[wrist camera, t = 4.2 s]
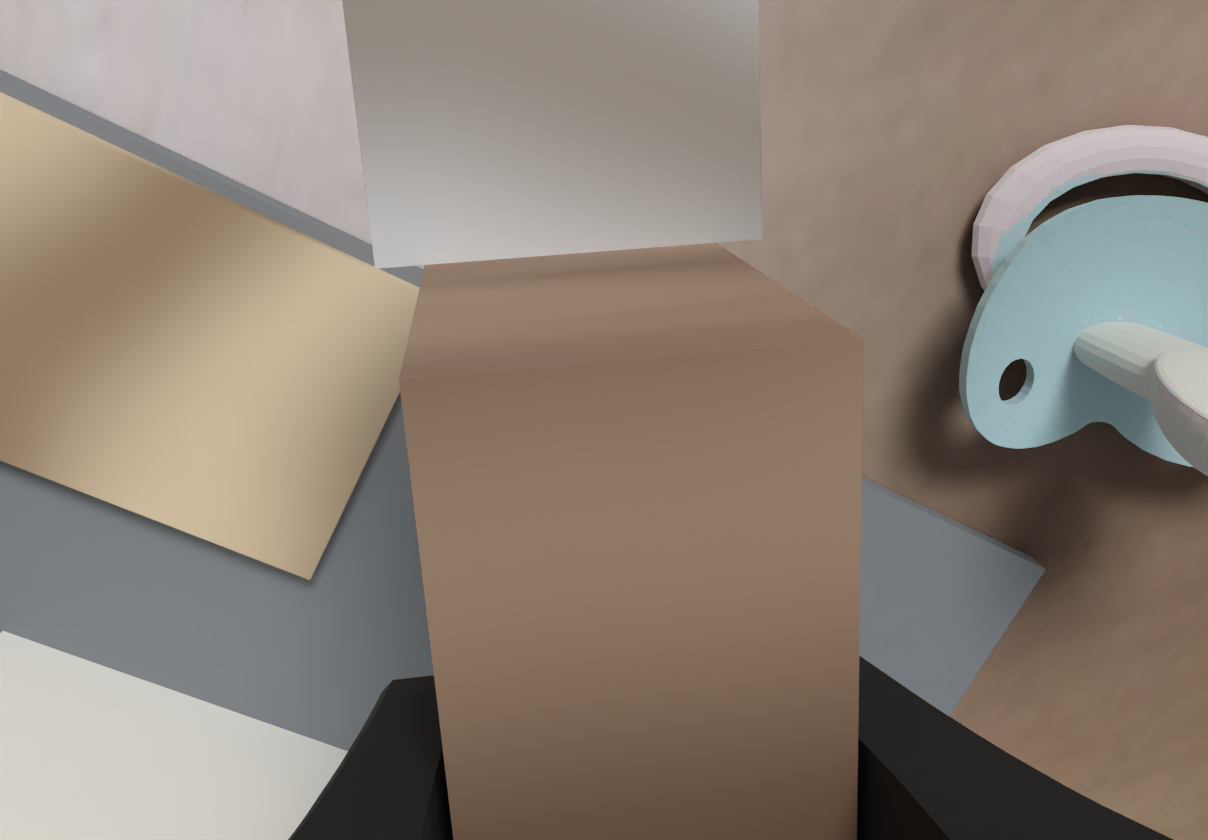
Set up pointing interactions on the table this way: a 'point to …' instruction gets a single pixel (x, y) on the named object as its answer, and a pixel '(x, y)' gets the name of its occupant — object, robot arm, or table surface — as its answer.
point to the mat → (392, 566)
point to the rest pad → (185, 346)
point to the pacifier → (1094, 298)
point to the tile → (141, 758)
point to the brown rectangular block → (614, 424)
